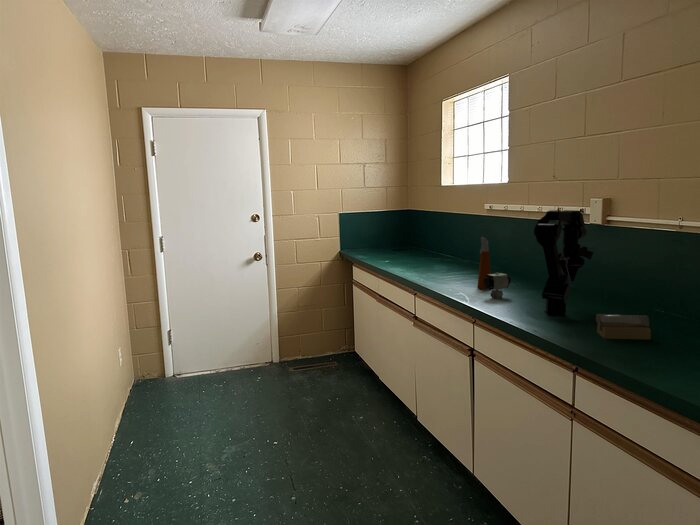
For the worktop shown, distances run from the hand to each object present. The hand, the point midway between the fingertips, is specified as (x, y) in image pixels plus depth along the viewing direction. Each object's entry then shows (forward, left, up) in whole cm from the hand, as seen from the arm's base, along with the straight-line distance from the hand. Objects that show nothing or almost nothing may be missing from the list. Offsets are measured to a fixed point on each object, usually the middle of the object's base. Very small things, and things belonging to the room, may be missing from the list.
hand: (569, 278), depth 198 cm
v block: (+7, -39, -12) cm, 41 cm away
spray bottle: (-30, +36, -12) cm, 49 cm away
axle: (+7, -39, -7) cm, 40 cm away
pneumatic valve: (-26, +16, -12) cm, 33 cm away
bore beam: (+8, -27, -12) cm, 30 cm away
